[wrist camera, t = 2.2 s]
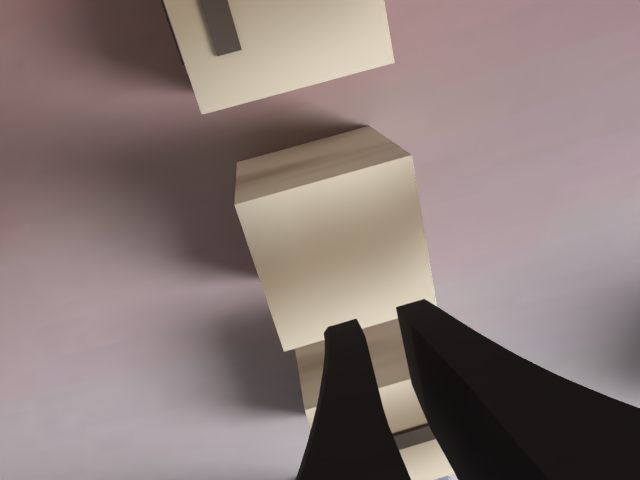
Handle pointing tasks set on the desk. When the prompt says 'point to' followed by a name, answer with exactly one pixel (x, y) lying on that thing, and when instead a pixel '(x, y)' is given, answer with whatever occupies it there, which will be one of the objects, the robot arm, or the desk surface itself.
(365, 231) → the plain birch block
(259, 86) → the birch block marked 7
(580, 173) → the desk surface
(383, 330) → the birch block marked 1
